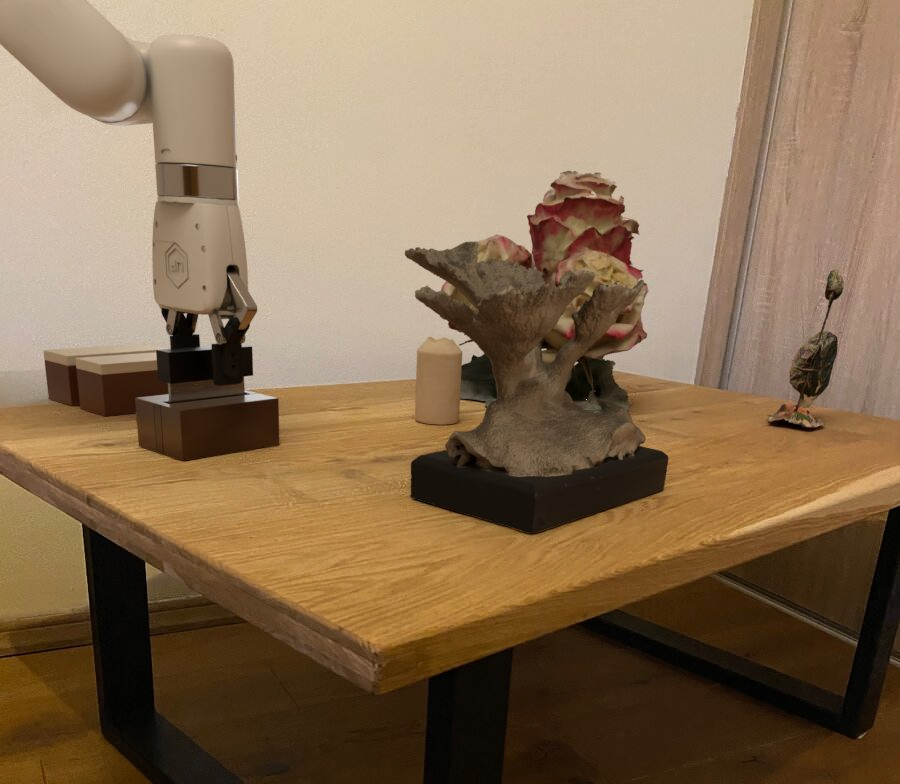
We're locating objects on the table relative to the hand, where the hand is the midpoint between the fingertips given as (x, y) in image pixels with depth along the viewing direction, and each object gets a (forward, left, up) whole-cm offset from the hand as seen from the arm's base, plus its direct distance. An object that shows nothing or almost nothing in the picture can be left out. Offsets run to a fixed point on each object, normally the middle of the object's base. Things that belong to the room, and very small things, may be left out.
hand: (207, 377), depth 95 cm
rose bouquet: (+53, -6, -7) cm, 54 cm away
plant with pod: (+70, -35, -7) cm, 79 cm away
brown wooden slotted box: (0, 0, -7) cm, 7 cm away
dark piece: (0, 0, -7) cm, 7 cm away
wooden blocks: (+6, +26, -7) cm, 28 cm away
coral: (+11, -31, -7) cm, 34 cm away
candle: (+30, -5, -7) cm, 31 cm away
